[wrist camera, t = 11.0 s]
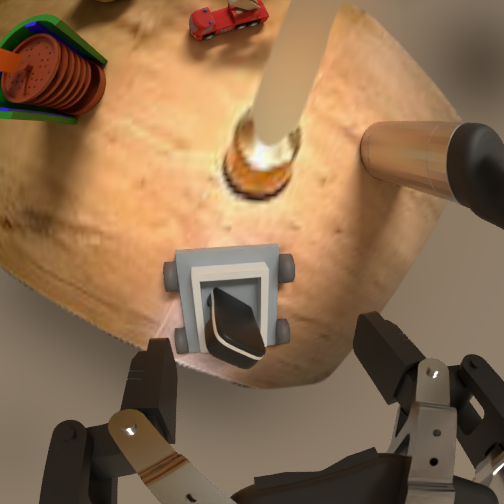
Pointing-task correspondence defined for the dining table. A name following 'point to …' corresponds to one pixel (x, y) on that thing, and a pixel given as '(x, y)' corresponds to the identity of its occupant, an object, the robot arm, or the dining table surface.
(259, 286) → the chassis
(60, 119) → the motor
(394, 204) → the dining table surface
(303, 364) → the dining table surface
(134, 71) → the dining table surface
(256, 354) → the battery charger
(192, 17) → the toy fire truck
